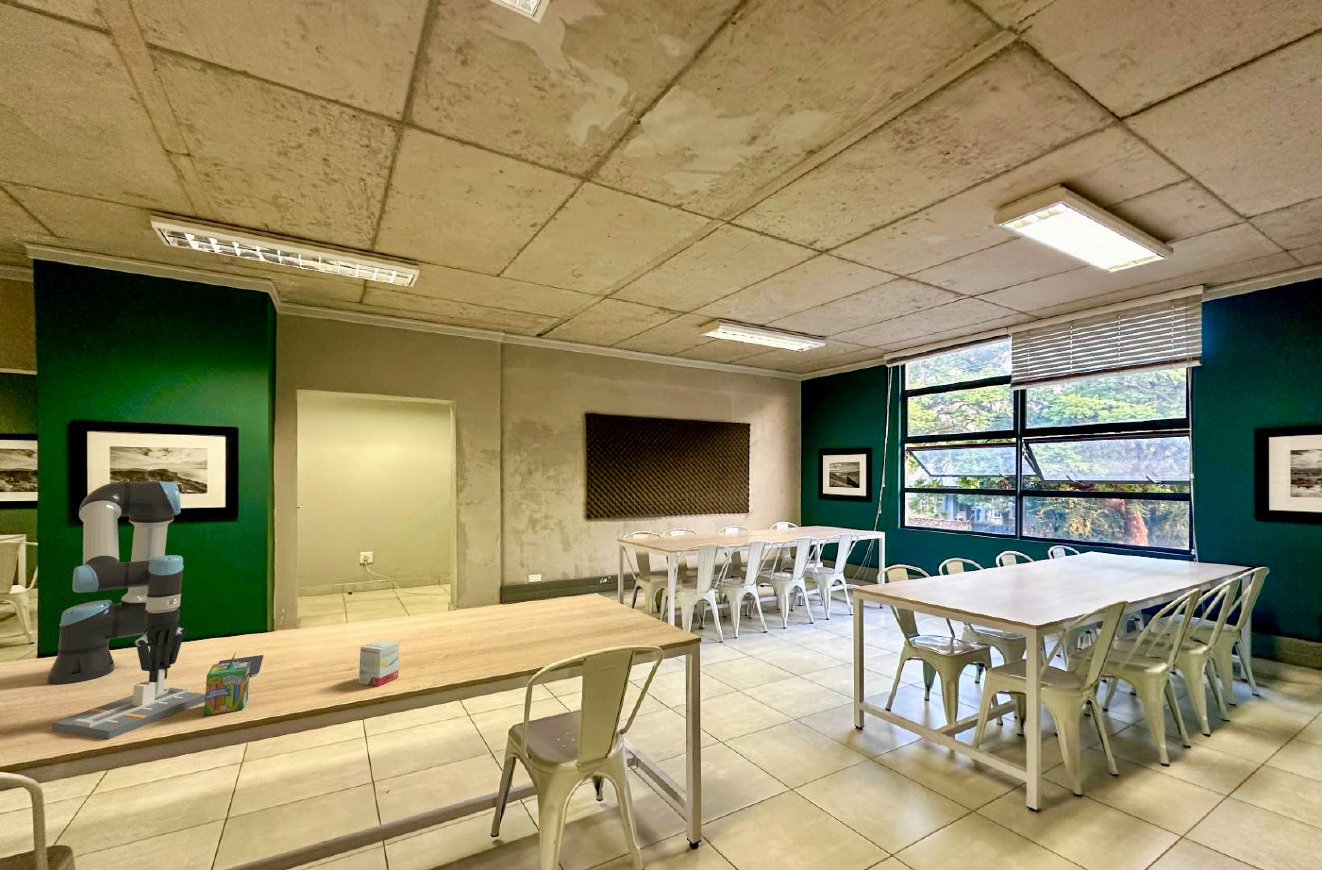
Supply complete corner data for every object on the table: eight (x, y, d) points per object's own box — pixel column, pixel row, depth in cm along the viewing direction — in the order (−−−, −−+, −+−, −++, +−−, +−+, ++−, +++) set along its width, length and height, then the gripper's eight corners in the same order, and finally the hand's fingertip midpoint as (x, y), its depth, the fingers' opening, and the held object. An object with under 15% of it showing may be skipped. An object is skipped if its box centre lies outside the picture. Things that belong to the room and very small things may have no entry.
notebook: (219, 665, 194) (209, 685, 176) (219, 660, 194) (210, 680, 176) (263, 659, 201) (258, 677, 183) (263, 654, 201) (258, 672, 183)
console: (51, 730, 144) (52, 717, 144) (154, 694, 167) (155, 683, 167) (109, 739, 139) (110, 726, 139) (206, 701, 163) (206, 690, 163)
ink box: (399, 677, 183) (400, 641, 183) (378, 687, 175) (379, 649, 175) (379, 674, 185) (380, 638, 186) (357, 683, 177) (359, 646, 178)
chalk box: (209, 705, 160) (213, 653, 161) (248, 699, 165) (251, 648, 166) (202, 717, 152) (205, 662, 153) (243, 710, 157) (246, 657, 158)
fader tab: (132, 705, 154) (133, 684, 155) (144, 701, 157) (146, 680, 158) (142, 706, 154) (143, 686, 154) (154, 702, 156) (155, 682, 157)
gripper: (147, 616, 153) (141, 703, 152) (196, 605, 166) (190, 685, 164) (127, 614, 155) (120, 700, 153) (176, 603, 168) (171, 683, 166)
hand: (157, 692), depth 159 cm, fingers closed
